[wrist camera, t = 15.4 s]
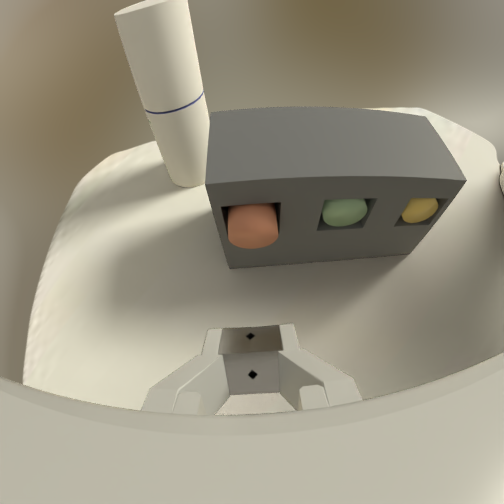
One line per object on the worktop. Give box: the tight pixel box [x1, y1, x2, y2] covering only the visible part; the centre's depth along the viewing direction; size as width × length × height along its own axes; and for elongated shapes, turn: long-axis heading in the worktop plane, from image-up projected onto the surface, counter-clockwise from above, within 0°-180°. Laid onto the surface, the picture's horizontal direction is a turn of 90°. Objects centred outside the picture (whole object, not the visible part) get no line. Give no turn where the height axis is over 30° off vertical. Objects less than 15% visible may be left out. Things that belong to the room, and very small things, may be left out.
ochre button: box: [401, 198, 438, 223], centre depth 24 cm, size 4×3×4 cm
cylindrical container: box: [114, 0, 210, 187], centre depth 28 cm, size 7×7×25 cm
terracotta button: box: [228, 203, 278, 249], centre depth 23 cm, size 4×3×4 cm
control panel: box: [205, 107, 467, 269], centre depth 27 cm, size 22×9×14 cm, turn 93°
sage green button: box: [322, 199, 367, 227], centre depth 24 cm, size 4×3×4 cm
